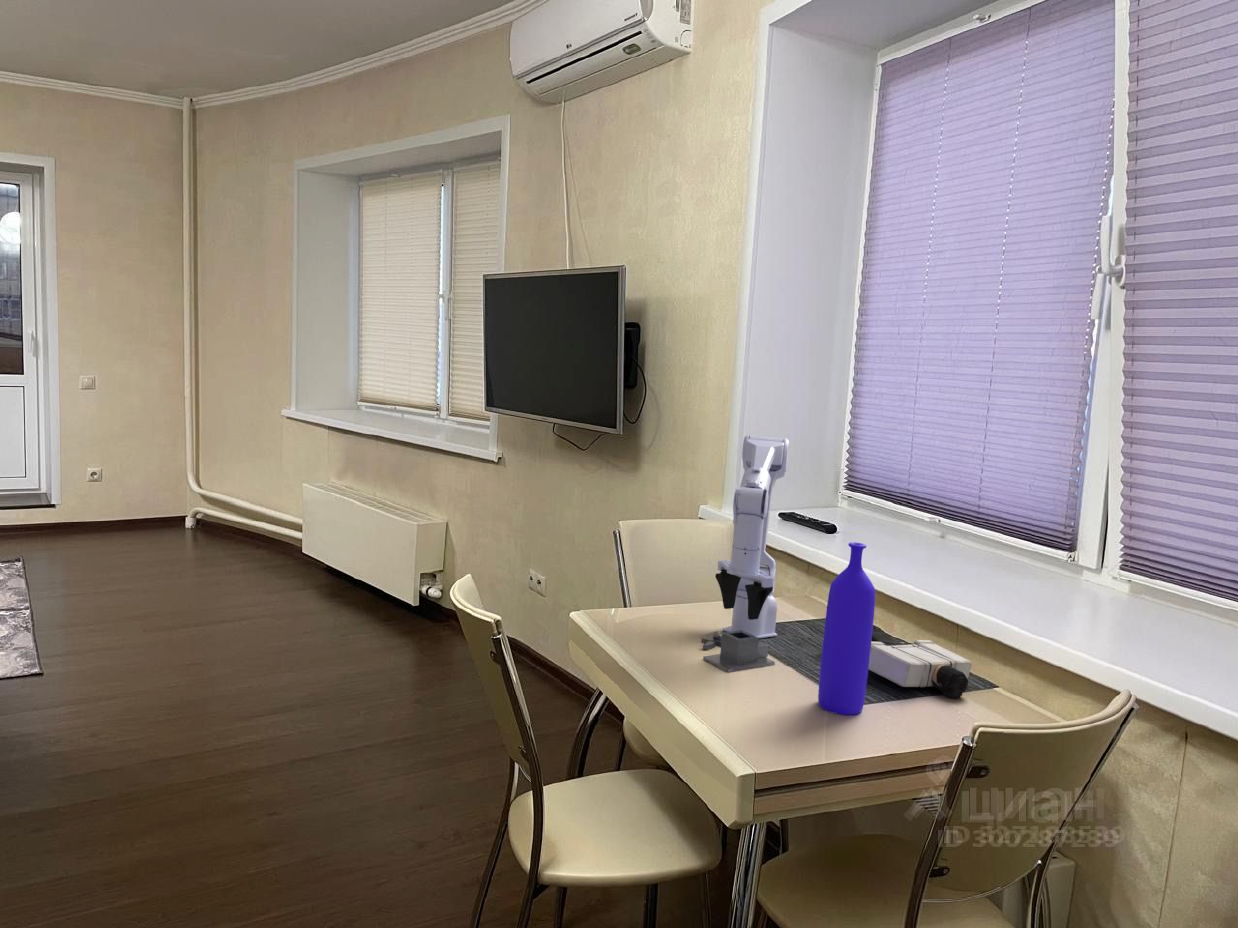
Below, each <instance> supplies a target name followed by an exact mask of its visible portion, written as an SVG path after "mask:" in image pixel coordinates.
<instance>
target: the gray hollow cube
mask: <svg viewBox="0 0 1238 928" xmlns="http://www.w3.org/2000/svg"><path fill="white" fill-rule="evenodd" d="M721 633H722V641H721V646H720V653H719V654H720V657H721V658H723V659H725V660H727V661H729V662H731V663H733V664H735V665H741V664H747V663H753V662H757V652H758V642H760V638H758V637H756V636H754V635H752V634H749V633H747V632H745V631H743V630H740V631H733V632H726V631H725V632H721Z"/></svg>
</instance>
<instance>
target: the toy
mask: <svg viewBox="0 0 1238 928" xmlns="http://www.w3.org/2000/svg"><path fill="white" fill-rule="evenodd" d="M971 668H972V662H971V660H970V659H967V658H965V657H962V656H960V655H959V654H957V653H955V652H952V651H951V650H949V649H946V648H945V647H942V646H940V645H939V644H936V643H934V641H932V640H929V639H915V640H914V642H902V641H897V640H894V639H892V638H890V637H889V635H887V634H885V633H884V632H883V631H882V630H880V629H879V628H877V626H876V625H874V624H873V631H872V641H871V650H870V659H869V668H868V671H871V672H873V673H875V674H877V675H879V676H881V677H883V678H885V679H886V680H889V681H891V682H892V683H894V684H896V685H898V686H900V687H903V688H919V687H920V688H927V687H935V688H936V689H937V690H940V691H941V692H942V693H943V695H944V696H947V698H949V699H954V700H955V699H956V700H957V699H960V698H961V697H962V696H963V693H965V692H966V690H967V689H968V685H969V676H970V672H971Z"/></svg>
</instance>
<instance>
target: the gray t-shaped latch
mask: <svg viewBox="0 0 1238 928" xmlns="http://www.w3.org/2000/svg"><path fill="white" fill-rule="evenodd" d="M722 633H723V632H720V631H715V632H711V633H709V634H707V635H705V636H704V637H702V639H701V642H702V643H704V644H702V650H704V651H709V650H712V649H714V648H715V647H716V646H718V647H721V641H722Z"/></svg>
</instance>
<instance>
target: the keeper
mask: <svg viewBox="0 0 1238 928" xmlns="http://www.w3.org/2000/svg"><path fill="white" fill-rule="evenodd" d="M768 655H769V644H767V643H764V642H763V641H759V642H758V652H757V662H753V663H747V664H741V665H735V664H733V663H731V662H729V661H727V660H725V659H723V658H721V657H720V653H717V654H711V655H704V656H703V657H702V659H703V661H706V662H707V663H710V664H711V665H713V666H715V667H717V668H719V669H722V670H723V671H725V672H727V673H732V672H740V671H744V670H750V669H755V668H761V667H762V668H763V667H769V666H774V665H775V664H776V663H775V661H774V660H772V659H770V658H769V657H768Z"/></svg>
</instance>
